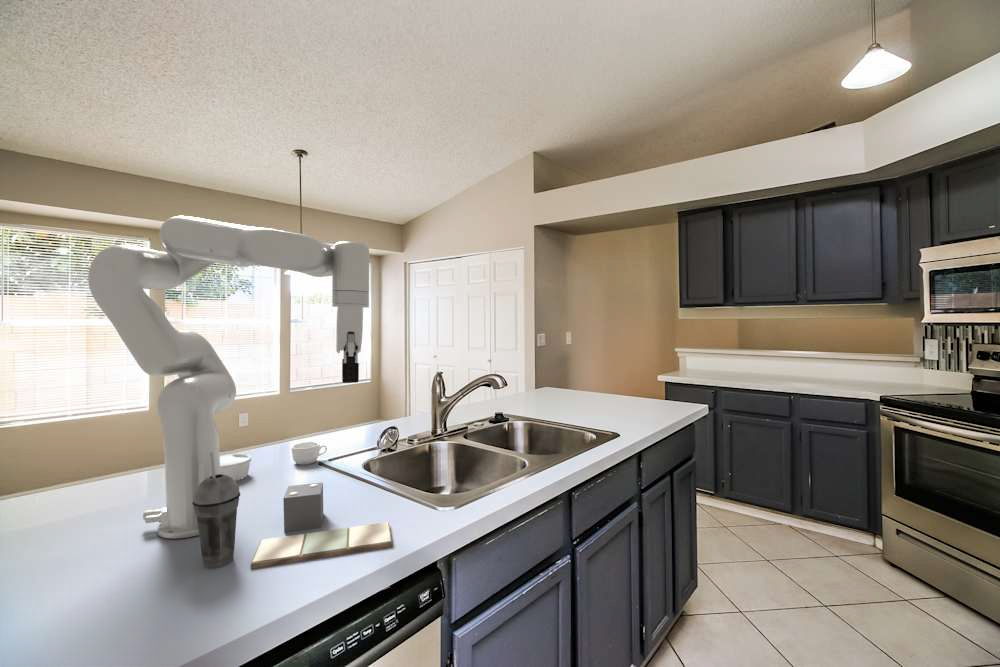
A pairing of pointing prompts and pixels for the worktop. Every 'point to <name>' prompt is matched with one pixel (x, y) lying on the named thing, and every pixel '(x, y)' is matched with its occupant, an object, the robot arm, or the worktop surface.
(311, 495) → the die
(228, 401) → the robot arm
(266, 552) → the game track
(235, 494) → the beverage cup
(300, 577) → the worktop surface
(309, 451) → the teacup
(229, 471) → the ramekin
